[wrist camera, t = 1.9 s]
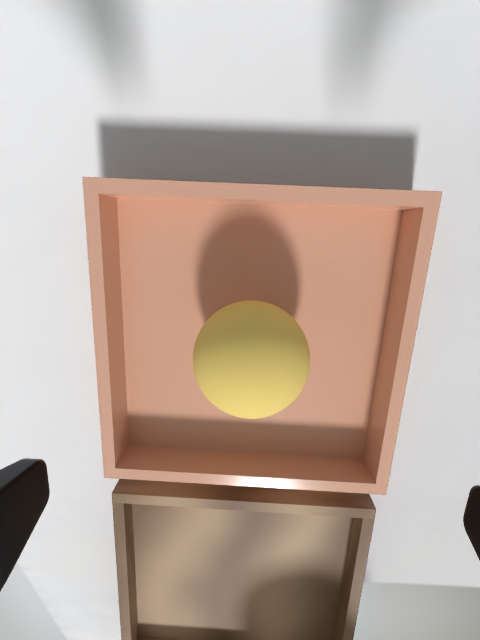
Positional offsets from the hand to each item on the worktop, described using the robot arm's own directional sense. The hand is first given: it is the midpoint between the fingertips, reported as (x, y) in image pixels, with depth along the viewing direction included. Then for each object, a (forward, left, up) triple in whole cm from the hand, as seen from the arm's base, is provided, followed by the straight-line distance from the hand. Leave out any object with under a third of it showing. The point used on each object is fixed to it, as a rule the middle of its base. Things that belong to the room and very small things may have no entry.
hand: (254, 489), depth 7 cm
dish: (0, 0, -11) cm, 11 cm away
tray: (0, +15, -11) cm, 18 cm away
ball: (0, 0, -10) cm, 10 cm away
